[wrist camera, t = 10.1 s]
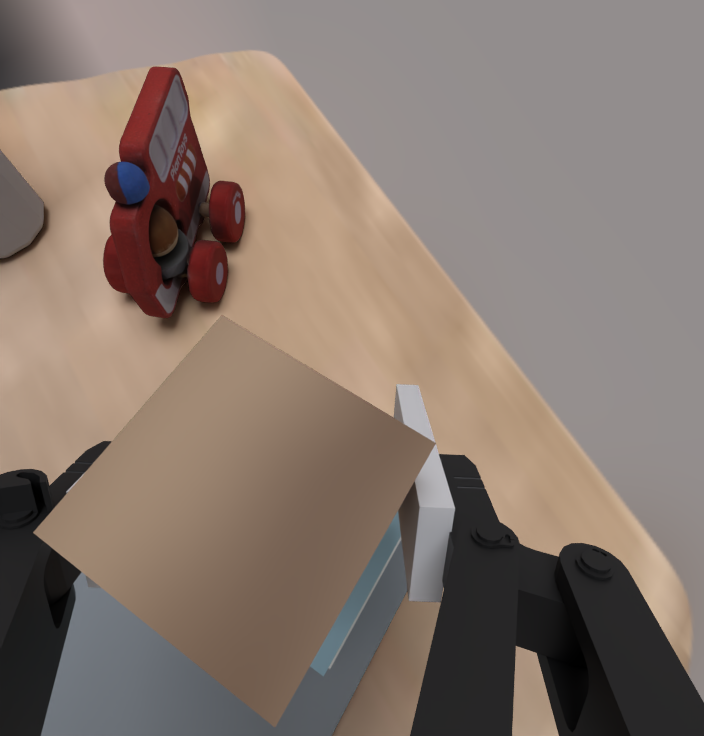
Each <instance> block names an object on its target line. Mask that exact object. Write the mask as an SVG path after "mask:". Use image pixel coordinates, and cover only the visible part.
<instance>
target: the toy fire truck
mask: <svg viewBox="0 0 704 736" xmlns="http://www.w3.org/2000/svg"><path fill="white" fill-rule="evenodd" d="M119 155H120V160H121V162H117V163H114V164H112V165H111V166H110V167H109V168H108V169H107V171H106V173H105V186H106V188H107V190H108V192H109V194H110V196H111V197H112V198H113V199H114V200H115V201H116V202H115V205H114V208H113V210H112V212H111V216H110V230H111V234H112V235H111V236H110V237H109V238H108V240H107V242H106V245H105V250H104V257H103V265H104V272H105V276H106V278H107V280H108V282H109V284H110V285H111V286H112V287H113V289H115V290H117V291H119V292H122V293H129V294H130V295H131V296H132V297H133V299H134V300H135V301H136V303H137V304H138V305H139V307H140V308H141V309H142V311H143V312H144V313H145V314H147V315H149V316H155V317H161V318H169V317H170V316H171V315H172V314H173V312H174V309H175V306H176V303H177V299H178V296H179V292H180V289H181V287H182V285H183V284H184V283H185V282H186V280H187V277H188V284H189V291H190V293H191V295H192V297H193V298H194V299H196V300H197V301H202V302H218V301H219V300H220V299H221V297H222V296H223V293H224V291H225V287H226V282H227V273H228V264H227V256H226V252H225V249H224V247H223V245H222V244H221V243H219V242H216V241H208V240H199V241H197V242H195V238H196V234H197V230H198V227H199V225H201V224H202V223H203V221H204V218H205V217H209V221H210V225H211V232H212V234H213V236H214V238H215V239H217V240H218V241H223V242H237V241H238V240H239V238H240V237H241V235H242V231H243V227H244V220H245V202H244V196H243V191H242V189H241V187H240V186H239V185H238V184H237V183H235V182H228V181H218V182H216V183H215V184H214V185H213V187H212V189H211V194H210V200H209V203H206V201H207V196H208V193H209V187H210V178H209V174H208V170H207V166H206V164H205V160H204V158H203V154H202V151H201V148H200V144H199V141H198V138H197V135H196V132H195V129H194V126H193V123H192V120H191V116H190V109H189V100H188V95H187V92H186V90H185V86H184V83H183V80H182V77H181V75H180V73H179V71H178V70H177V69H176V68H168V67H152V68H150V70H149V72H148V74H147V77H146V80H145V82H144V84H143V87H142V89H141V92H140V94H139V96H138V99H137V101H136V104H135V106H134V109H133V111H132V114H131V116H130V119H129V121H128V123H127V126H126V128H125V131H124V133H123V135H122V138H121V140H120V145H119ZM194 242H195V244H194ZM193 245H194V246H193Z"/></svg>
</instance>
